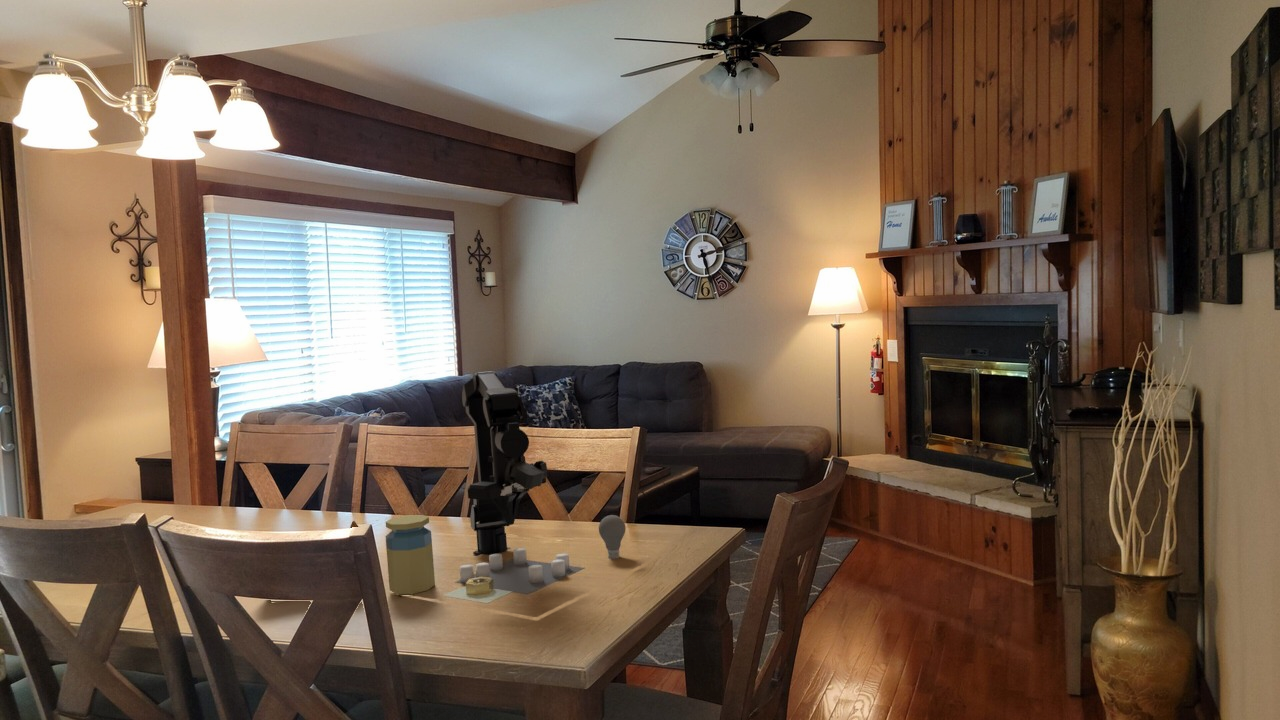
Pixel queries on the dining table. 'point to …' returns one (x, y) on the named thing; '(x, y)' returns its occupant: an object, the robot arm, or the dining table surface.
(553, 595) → the dining table surface
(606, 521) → the light bulb
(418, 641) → the dining table surface
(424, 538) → the jar
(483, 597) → the tile
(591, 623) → the dining table surface
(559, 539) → the dining table surface
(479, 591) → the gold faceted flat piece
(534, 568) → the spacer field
